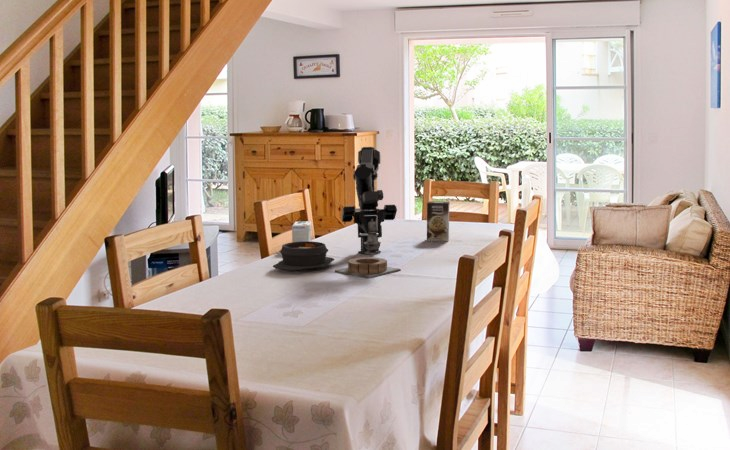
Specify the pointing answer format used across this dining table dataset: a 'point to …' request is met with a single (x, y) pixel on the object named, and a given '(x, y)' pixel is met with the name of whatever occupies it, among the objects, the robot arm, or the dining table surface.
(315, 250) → the casserole
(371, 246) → the salt shaker
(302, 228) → the light bulb box
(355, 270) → the walnut collar
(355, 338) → the dining table surface
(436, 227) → the coffee box
